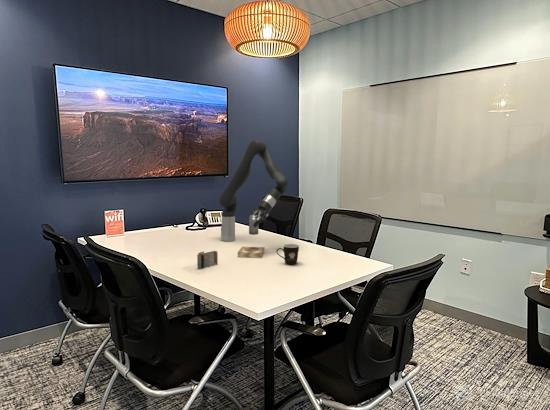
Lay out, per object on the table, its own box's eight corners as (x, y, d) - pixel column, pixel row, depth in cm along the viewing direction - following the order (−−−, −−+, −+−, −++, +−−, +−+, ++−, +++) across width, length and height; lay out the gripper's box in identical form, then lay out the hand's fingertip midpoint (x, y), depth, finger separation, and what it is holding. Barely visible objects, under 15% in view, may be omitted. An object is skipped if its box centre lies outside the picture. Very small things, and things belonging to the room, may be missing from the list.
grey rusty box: (201, 270, 191) (200, 251, 190) (197, 269, 193) (197, 250, 192) (218, 265, 199) (218, 248, 198) (214, 264, 201) (214, 247, 200)
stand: (237, 257, 215) (237, 251, 214) (242, 251, 229) (242, 245, 228) (261, 257, 214) (261, 252, 213) (264, 251, 227) (264, 246, 227)
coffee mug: (300, 262, 205) (300, 244, 204) (296, 266, 197) (296, 248, 196) (280, 260, 209) (280, 243, 208) (275, 264, 201) (275, 246, 200)
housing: (248, 234, 218) (248, 216, 216) (249, 232, 223) (249, 214, 222) (257, 234, 217) (257, 216, 216) (258, 233, 223) (259, 215, 221)
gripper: (256, 198, 228) (240, 219, 222) (271, 201, 217) (255, 223, 211) (263, 206, 232) (247, 227, 226) (278, 209, 221) (262, 231, 215)
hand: (251, 225), depth 218 cm, fingers closed on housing, 5 cm apart
